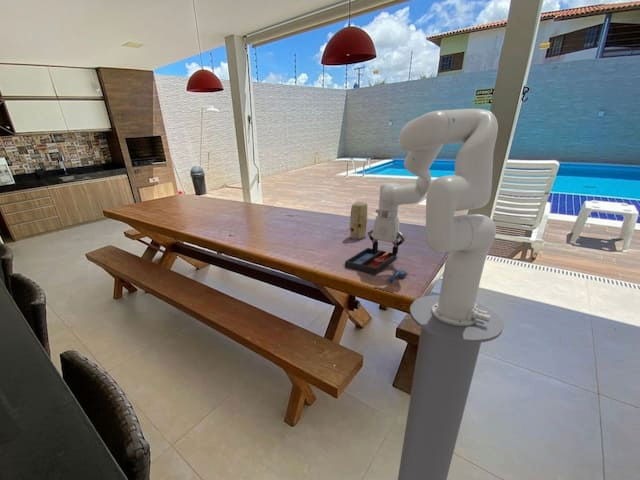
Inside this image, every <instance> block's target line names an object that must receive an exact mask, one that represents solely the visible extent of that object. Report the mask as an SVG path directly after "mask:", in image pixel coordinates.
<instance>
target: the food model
mask: <svg viewBox="0 0 640 480" xmlns="http://www.w3.org/2000/svg"><path fill="white" fill-rule="evenodd" d="M367 225H368V203H367V202H364V201H356V202H354V203H352V205H351V207H350V216H349V234H350V239H358V240H361V239H364V238H365V237H366V234H367Z"/></svg>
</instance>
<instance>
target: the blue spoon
mask: <svg viewBox="0 0 640 480" xmlns="http://www.w3.org/2000/svg"><path fill="white" fill-rule="evenodd" d="M406 274H407V271H406V270H403V269H396V270H395V271H394V274H393V275H391V276H390V277H389V284H390V285H392V284H393V283H394V280H395V279H397V278H398V279H404V278H406V276H407V275H406Z"/></svg>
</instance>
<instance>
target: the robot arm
mask: <svg viewBox="0 0 640 480" xmlns="http://www.w3.org/2000/svg"><path fill="white" fill-rule="evenodd" d="M498 131H499V123H498V119H497V117H496V115H495V114H494V113H493V112H492V111H490V110H487V109H483V108H459V109H457V108H456V109H442V110H441V109H440V110H432V111H429V112H427V113H425V114H423V115H420V116H418V117H416V118H414V119H411V120H410V121H408V122H407V123H406V124H405V125H404V126H403V127H402V129H401V130H400V132H399V135H398V146H399V148H400V150H402V151H403V152H408V153H407V155H406V157H405V159H404V161H403V167H404V168H405V169H406V170H407V172H409V173H411V174H412V175H414V176H417V178H416V180H415V182H413V183H404V184H400V183H397V182H384V183H382V184H380V186H379V199H378V209H375V214H377V215H375V218H374V219H375V220H374V224H373V228H372V230H369V231H367V232H366V234H367V236H368V237H369V241H371V243H372V249H373V252H375V251H377V250H379V242H378V241H382V242H386V243H387V242H388V243H392V245H393V246H392V252H391V253H392V256H395V255H396V254H399V253H398V252H399V246H400V245H402V244H403V243H404V242H405V241H406V240H407V237H406V236H404V235H403V233H401V232H400V218H399V216H398V212H399V206H402V205H412V204H413V205H414V204H417V203H420V202H421V200H423V199H424V197H425V196H426V197H425V239H426V243H427V245H428V247H429V249H430V250H431V251H432V252H435V253H439V254H442V253H443V254H445V253H448V255H447V257H446V259H445V264H444V269H443V275H442V279H441V286H440V291H439V295H440V296H439V302H438V303H437V304H435V305H433V307H432V314H433V315H434V316H435V317H436V318H437V319H439V320H440V321H442V322H445V323H447V324H451V325H456V326H470V325H473V324H475V323H476V322H477V320H478V319H481V320H483V321H486V322H489V321H490V317H491V316H489V315H487V311H482V310H479V309H478V308H477V303H478V302H477V303H475V302H476V301H477V296H478V292H479V287H480V284H481V279H482V275H483V273H484V272H483V271H484V267H485V264H486V260H487V256H488V254H489V251H490V250H491V247H492V245H493V243H494V241H495V239H496V234H497V226H496V224H495V222H494V220H493V219H492V218H491V217H489V216H487V215H485V214H478V213H476V214H475V213H471V214H463V215H455V213H456V212H463V211H469V210H470V211H471V210H477V209H481V208H483V207H485V206H486V205H487V204H489V202H490V200H491V195H492V189H493V188H492V187H493V169H494V152H495V147H496V143H497V138H498V133H499V132H498ZM451 144H462V145H461V146H460V148H459V150H458V152H457V154H456V156H455V159H454V173H453V174H450V175H443V176H439V177H437V178H435V179H434V180H433V181H432V174H431V170H430V168H431V166H432V165H433V163H434V162H435V160H436V159H437V157H438V155H439V154H440V152H441V150H442V149H443V147H444V146H445V145H451ZM399 239H400V240H399ZM396 256H397V255H396Z"/></svg>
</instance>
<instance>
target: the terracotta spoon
mask: <svg viewBox="0 0 640 480" xmlns="http://www.w3.org/2000/svg"><path fill="white" fill-rule="evenodd" d="M385 252H386V253H385V254H383V255H382V256H380V257H379V258H375V259H374V264H375V265H380V264H381V263H383V262H384V260H383V258H384V257H386V258H388V257H389V256H388V255H389V252H390V251H385Z"/></svg>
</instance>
